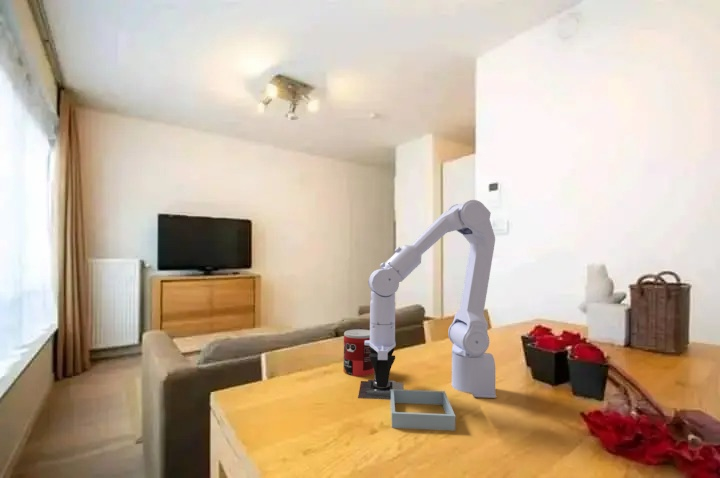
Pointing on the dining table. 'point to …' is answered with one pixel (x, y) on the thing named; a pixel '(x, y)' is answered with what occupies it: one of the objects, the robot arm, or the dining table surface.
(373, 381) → the metal flanged cylinder
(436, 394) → the bin
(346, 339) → the canned food
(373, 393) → the gray recessed square plate
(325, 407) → the dining table surface
